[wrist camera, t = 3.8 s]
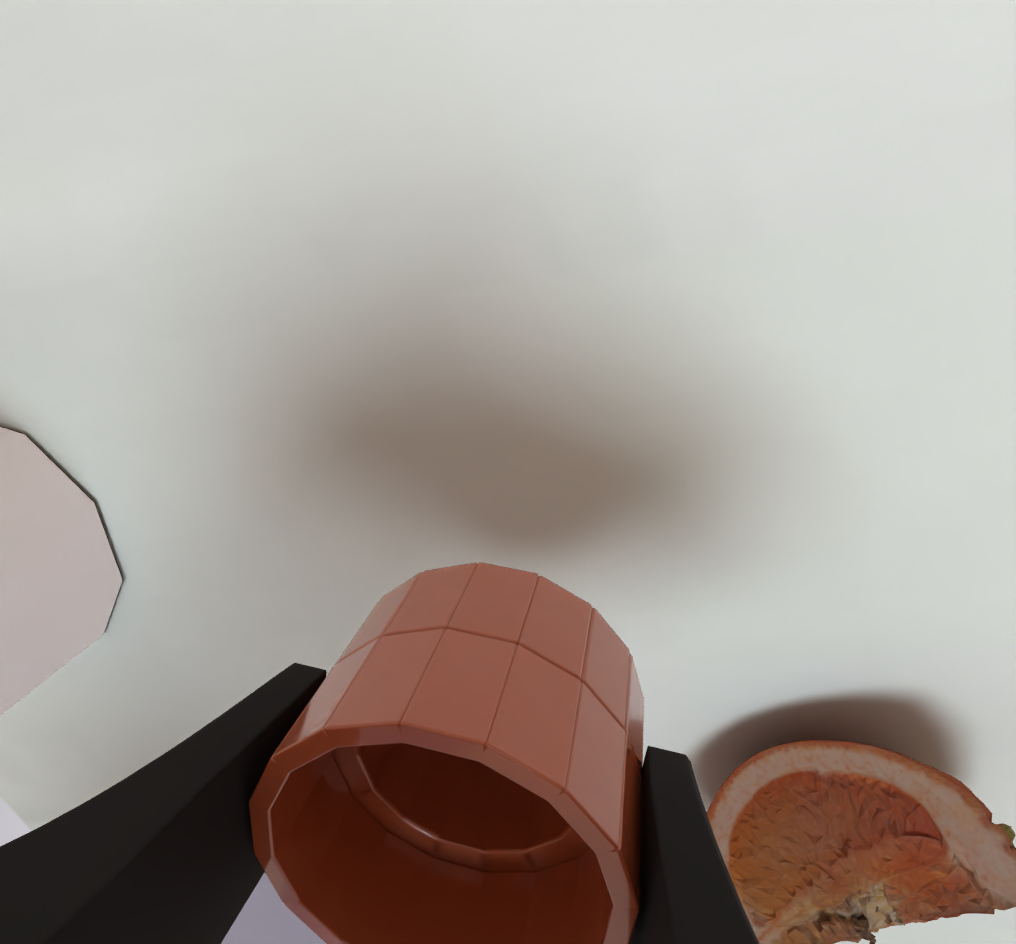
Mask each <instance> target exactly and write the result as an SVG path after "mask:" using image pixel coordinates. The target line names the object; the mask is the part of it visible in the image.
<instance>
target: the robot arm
mask: <svg viewBox="0 0 1016 944" xmlns="http://www.w3.org/2000/svg"><path fill="white" fill-rule="evenodd" d="M325 678H326V670H323V669H319V668H314V667H310V666H306V665H302V664H297V663H294V664H292V665H291V666H289V667H288V668H286V669H285V670H284V671H282V672H281V673H279V674H278V675H276V676H275V677H274V678H272V679H271V680H269V681H268V682H267V683H265V684H264V685H262V686H261V687H260V688H258V689H257V690H256V691H254V692H253V693H251V694H250V695H249V696H247V697H246V698H244V699H243V700H242V701H240V702H239V703H237V704H236V705H235V706H233V707H232V708H230V709H229V710H228V711H226V712H225V713H223V714H222V715H221V716H219V717H218V718H216V719H215V720H213V721H212V722H210V723H209V724H208V725H206V726H205V727H203V728H202V729H200V730H199V731H197V732H196V733H195V734H193V735H192V736H190V737H189V738H187V739H186V740H184V741H183V742H181V743H180V744H178V745H177V746H175V747H174V748H172V749H171V750H169V751H168V752H166V753H165V754H163V755H162V756H160V757H158V758H157V759H155V760H154V761H152V762H151V763H149V764H147V765H146V766H144V767H143V768H141V769H139V770H138V771H136V772H135V773H133V774H132V775H130V776H128V777H127V778H125V779H124V780H122V781H120V782H119V783H117V784H116V785H114V786H112V787H110V788H109V789H107V790H105V791H104V792H102V793H100V794H99V795H97V796H95V797H94V798H92V799H90V800H88V801H87V802H85V803H83V804H81V805H80V806H78V807H76V808H74V809H72V810H70V811H69V812H67V813H65V814H63V815H61V816H60V817H58V818H56V819H54V820H52V821H50V822H49V823H47V824H45V825H43V826H41V827H39V828H37V829H35V830H33V831H31V832H29V833H27V834H25V835H23V836H21V837H19V838H17V839H15V840H13V841H11V842H9V843H7V844H5V845H3V846H1V847H0V944H326V943H325V942H324V941H323V940H322V939H321V938H320V937H318V936H317V935H316V934H315V933H314V932H313V931H312V930H311V929H310V928H309V927H308V926H307V925H306V924H304V923H303V922H302V921H301V920H300V919H299V918H298V917H297V916H296V915H295V914H294V913H293V912H292V911H290V910H289V909H288V908H287V907H286V906H285V903H283V902H282V901H281V899H280V897H279V896H278V894H277V892H276V891H275V889H274V887H273V885H272V884H271V882H270V880H269V879H268V877H267V875H266V873H265V872H264V870H263V868H262V867H261V865H260V863H259V862H258V860H257V858H256V856H255V853H254V851H253V841H252V832H251V823H250V814H249V799H250V797H251V795H252V793H253V791H254V789H255V787H256V785H257V783H258V781H259V779H260V777H261V775H262V773H263V771H264V770H265V768H266V766H267V764H268V762H269V760H270V758H271V756H272V755H273V753H274V752H275V751H276V749H277V748H278V746H279V745H280V743H281V742H282V740H283V739H284V737H285V736H286V735H287V733H288V732H289V730H290V729H291V727H292V726H293V724H294V723H295V722H296V720H297V719H298V717H299V716H300V714H301V713H302V711H303V710H304V708H305V707H306V706H307V704H308V703H309V701H310V700H311V698H312V697H313V695H314V694H315V693H316V691H317V690H318V688H319V687H320V685H321V684H322V682H323V681H324V679H325ZM641 824H642V825H641V867H640V909H639V913H638V917H637V920H636V924H635V927H634V931H633V934H632V938H631V941H630V944H760V943H759V941H758V939H757V937H756V935H755V933H754V931H753V928H752V926H751V924H750V922H749V919H748V917H747V915H746V913H745V910H744V908H743V906H742V903H741V901H740V899H739V896H738V894H737V891H736V889H735V886H734V884H733V882H732V879H731V877H730V874H729V872H728V869H727V867H726V864H725V862H724V860H723V857H722V854H721V852H720V849H719V847H718V844H717V841H716V839H715V836H714V833H713V830H712V828H711V825H710V822H709V819H708V816H707V814H706V811H705V808H704V805H703V802H702V799H701V796H700V792H699V789H698V786H697V783H696V779H695V776H694V772H693V769H692V765H691V761H690V760H689V759H688V757H687V756H686V755H685V754H680V753H676V752H672V751H667V750H663V749H659V748H655V747H650V746H648V747H647V751H646V755H645V759H644V763H643V767H642V816H641Z"/></svg>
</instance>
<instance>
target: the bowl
mask: <svg viewBox="0 0 1016 944" xmlns="http://www.w3.org/2000/svg"><path fill="white" fill-rule="evenodd" d="M643 723H644V697H643V694H642V690H641V686H640V683H639V679H638V675H637V672H636V668H635V665H634V661H633V657H632V655H631V654H630V653H629V649H628V647H627V646H626V645H625V644H624V643H623V641H622V640H621V639H620V638H619V637H618V635H617V634H616V633H615V632H614V630H613V629H612V628H611V627H610V626H609V624H608V623H607V622H606V621H605V620H604V618H603V617H602V616H601V615H600V614H599V612H598V611H597V610H596V609H595V608H592V606H591V604H589V603H588V602H586V601H584V600H582V599H581V598H579V597H577V596H575V595H574V594H572V593H570V592H569V591H567V590H565V589H563V588H562V587H560V586H558V585H557V584H555V583H553V582H551V581H550V580H548V579H546V578H545V577H543V576H538V574H537V573H532V572H527V571H522V570H517V569H512V568H507V567H502V566H497V565H492V564H487V563H482V562H479V563H478V564H477V563H470V564H463V565H457V566H451V567H444V568H438V569H432V570H426V571H424V572H421V573H418V574H417V575H415V576H414V577H412V578H411V579H409V580H408V581H406V582H404V583H403V584H401V585H400V586H398V587H397V588H395V589H394V590H392V591H391V592H389V593H388V594H386V595H385V596H383V597H382V598H381V600H380V601H379V602H378V603H377V604H376V606H375V607H374V609H373V610H372V612H371V613H370V615H369V616H368V618H367V619H366V620H365V622H364V623H363V625H362V626H361V628H360V629H359V631H358V632H357V634H356V635H355V636H354V638H353V639H352V641H351V642H350V644H349V645H348V647H347V648H346V649H345V651H344V652H343V654H342V655H341V657H340V658H339V660H338V661H337V663H336V664H335V666H334V667H333V668H332V669H331V671H330V672H329V674H328V675H327V677H326V678H325V679H324V681H323V682H322V684H321V685H320V687H319V688H318V690H317V691H316V693H315V694H314V695H313V697H312V698H311V700H310V701H309V703H308V704H307V706H306V707H305V708H304V710H303V711H302V713H301V714H300V716H299V717H298V719H297V720H296V722H295V723H294V724H293V726H292V727H291V729H290V730H289V732H288V733H287V735H286V736H285V737H284V739H283V740H282V742H281V743H280V745H279V746H278V748H277V749H276V751H275V752H274V753H273V755H272V756H271V758H270V760H269V762H268V764H267V766H266V768H265V770H264V771H263V773H262V775H261V777H260V779H259V781H258V783H257V785H256V787H255V789H254V791H253V793H252V795H251V797H250V799H249V814H250V823H251V832H252V841H253V851H254V853H255V856H256V858H257V860H258V862H259V863H260V865H261V867H262V868H263V870H264V872H265V873H266V875H267V877H268V879H269V880H270V882H271V884H272V885H273V887H274V889H275V891H276V892H277V894H278V896H279V897H280V899H281V901H282V902H283V903H285V906H286V907H287V908H288V909H289V910H290V911H292V912H293V913H294V914H295V915H296V916H297V917H298V918H299V919H300V920H301V921H302V922H303V923H304V924H306V925H307V926H308V927H309V928H310V929H311V930H312V931H313V932H314V933H315V934H316V935H317V936H318V937H320V938H321V939H322V940H323V941H324V942H325V943H326V944H630V941H631V938H632V934H633V931H634V927H635V924H636V920H637V917H638V913H639V909H640V867H641V825H642V824H641V816H642V763H643Z"/></svg>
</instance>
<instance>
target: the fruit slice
mask: <svg viewBox="0 0 1016 944" xmlns="http://www.w3.org/2000/svg"><path fill="white" fill-rule="evenodd" d="M707 816H708V819H709V822H710V825H711V828H712V830H713V833H714V836H715V839H716V841H717V844H718V847H719V849H720V852H721V854H722V857H723V860H724V862H725V864H726V867H727V869H728V872H729V874H730V877H731V879H732V882H733V884H734V886H735V889H736V891H737V894H738V896H739V899H740V901H741V903H742V906H743V908H744V910H745V913H746V915H747V917H748V919H749V922H750V924H751V926H752V928H753V931H754V933H755V935H756V937H757V939H758V941H759V943H760V944H834V943H837V942H840V941H852V942H856V943H858V942H859V941H860V940H861V939H862V938H863V939H865V940H870V944H875V942H876V940H875V939H874V938H875V937H876V936H874V935H873V934H871V932H878V930H879V929H883V928H886V927H889V926H894V925H900V926H901V925H905V924H908V923H911V922H915V923H917V922H924V923H925V922H928V921H931V920H937V919H938V918H940V917H944V918H950V917H958V916H960V915H961V914H966V913H983V914H994V909H999V910H1006V909H1010V908H1013V907H1016V848H1015V847H1014V844H1013V839H1014V837H1015V833H1014V831H1013V830H1012V828H1011V826H1008V825H1006V824H998V825H996V824H994V823H991V822H992V813H991V812H990V811H989V809H988V808H987V807H986V806H985V805H984V803H982V802H981V801H980V800H979V799H978V798H977V797H976V796H975V795H974V794H973V793H972V791H971V790H970V789H968V788H967V787H966V786H965V785H964V784H963V783H962V782H961V781H959V780H957V779H956V778H954V777H952V776H950V775H948V774H946V773H943V772H941V771H939V770H937V769H935V768H933V767H930V766H927V765H925V764H923V763H920V762H918V761H915V760H913V759H911V758H909V757H907V756H905V755H903V754H900V753H896V752H893V751H890V750H887V749H883V748H879V747H876V746H871V745H867V744H863V743H856V742H848V741H834V740H804V741H797V742H791V743H786V744H782V745H778V746H774V747H771V748H769V749H766V750H763V751H761V752H759V753H757V754H756V755H754V756H752V757H751V758H750V759H748V760H747V761H745V762H744V763H743V764H741V765H740V766H739V767H738V768H737V769H735V770H734V771H733V773H732V774H731V775H730V776H729V777H728V779H727V780H726V781H725V782H724V784H723V785H722V786H721V788H720V789H719V791H718V793H717V794H716V796H715V798H714V800H713V802H712V804H711V806H710V808H709V809H708V811H707Z"/></svg>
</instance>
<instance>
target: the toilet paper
mask: <svg viewBox="0 0 1016 944" xmlns="http://www.w3.org/2000/svg"><path fill="white" fill-rule="evenodd" d="M121 583H122V578H121V575H120V572H119V569H118V567H117V564H116V561H115V559H114V556H113V553H112V550H111V548H110V545H109V542H108V539H107V537H106V534H105V531H104V528H103V526H102V523H101V520H100V518H99V515H98V512H97V509H96V507H95V504H94V502H93V501H92V500H91V499H90V498H89V497H88V496H87V495H86V494H85V493H84V492H83V491H81V490H80V489H79V488H78V487H77V486H76V485H75V484H74V483H73V482H72V481H71V480H70V479H69V478H68V477H67V476H66V475H65V474H64V473H63V472H62V471H61V470H60V469H59V468H58V467H57V466H56V465H55V464H54V463H53V462H52V461H51V460H50V459H49V458H48V457H47V456H46V455H45V454H44V453H43V452H42V451H41V450H40V449H39V448H38V447H37V446H36V445H35V444H34V443H33V442H32V441H31V440H30V439H29V438H27V437H26V436H25V435H24V434H21V433H18V432H15V431H12V430H9V429H5V428H2V427H0V716H1V715H2V714H3V713H4V712H6V711H7V710H8V709H10V708H11V707H12V706H13V705H15V704H16V703H17V702H18V701H20V700H21V699H22V698H23V697H25V696H26V695H27V694H29V693H30V692H31V691H32V690H34V689H35V688H36V687H37V686H39V685H40V684H41V683H43V682H44V681H45V680H46V679H48V678H49V677H50V676H51V675H53V674H54V673H55V672H57V671H58V670H59V669H60V668H62V667H63V666H64V665H65V664H67V663H68V662H69V661H71V660H72V659H73V658H74V657H76V656H77V655H78V654H79V653H81V652H82V651H83V650H85V649H86V648H87V647H88V646H90V645H91V644H92V643H93V642H95V641H96V640H97V639H99V638H100V637H101V636H102V635H103V634H104V631H105V629H106V626H107V623H108V620H109V617H110V614H111V612H112V609H113V606H114V603H115V600H116V597H117V595H118V592H119V589H120V586H121Z"/></svg>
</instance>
